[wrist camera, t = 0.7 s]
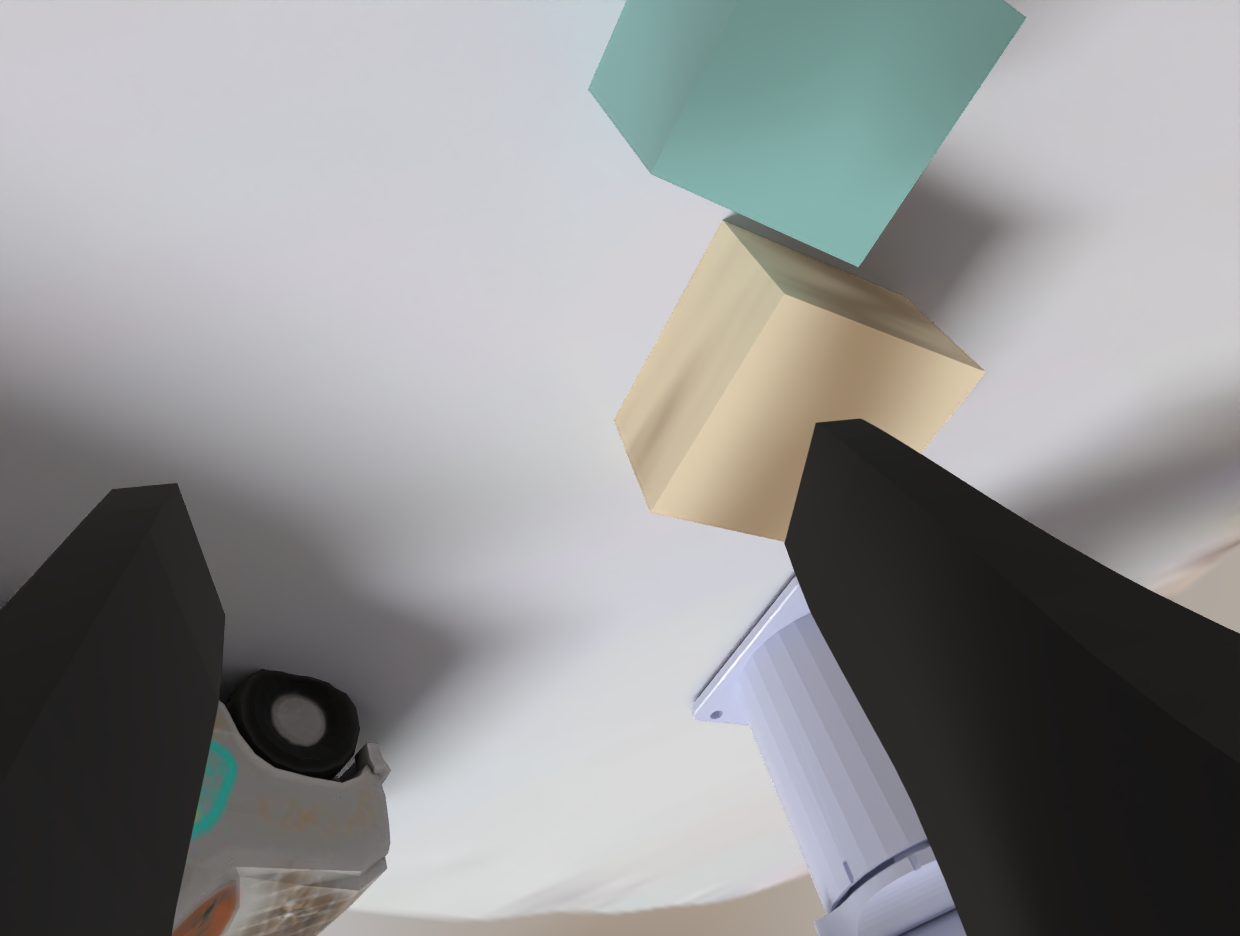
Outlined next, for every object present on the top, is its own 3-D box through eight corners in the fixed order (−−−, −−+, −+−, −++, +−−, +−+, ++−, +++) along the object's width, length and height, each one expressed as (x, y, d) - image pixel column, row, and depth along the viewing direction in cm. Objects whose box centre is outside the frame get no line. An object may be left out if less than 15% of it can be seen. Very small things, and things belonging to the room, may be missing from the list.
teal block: (877, -34, 17) (1027, 16, 13) (760, 172, 19) (858, 267, 15) (694, -159, 15) (808, -143, 11) (587, 88, 17) (650, 173, 13)
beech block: (901, 293, 22) (985, 371, 19) (783, 462, 25) (840, 553, 22) (719, 216, 19) (784, 293, 16) (612, 416, 22) (650, 512, 19)
